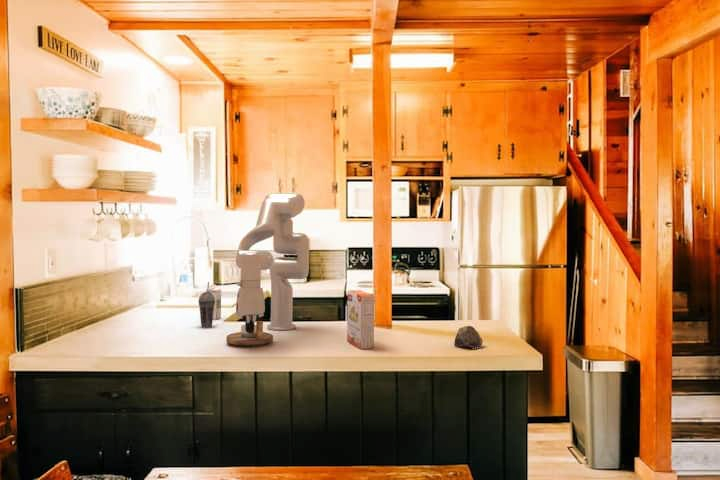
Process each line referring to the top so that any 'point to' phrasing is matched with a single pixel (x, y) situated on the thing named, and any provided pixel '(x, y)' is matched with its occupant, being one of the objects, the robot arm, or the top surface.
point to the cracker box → (360, 319)
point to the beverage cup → (206, 308)
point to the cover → (248, 335)
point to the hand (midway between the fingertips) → (249, 332)
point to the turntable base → (250, 345)
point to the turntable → (260, 338)
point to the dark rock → (468, 337)
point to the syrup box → (216, 302)
